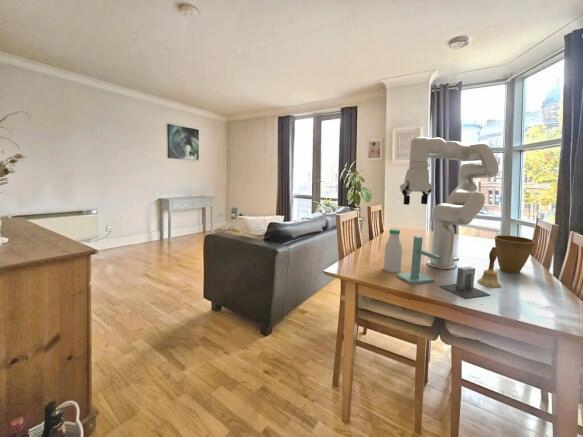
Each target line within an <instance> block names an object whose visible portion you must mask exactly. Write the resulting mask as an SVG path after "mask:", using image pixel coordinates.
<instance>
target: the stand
mask: <svg viewBox="0 0 583 437" xmlns="http://www.w3.org/2000/svg"><path fill="white" fill-rule="evenodd" d="M412 242H413V244H412V245H413V246H412V254H411V256H412V257H411V266H410V267H411V269H410V270H411V271H410V272H403V273H400V272H399V273H395V277H397V278H399V279H401V280H402V281H405V282H406V283H408V284H410V285H417V284H426V283H434V282H435V280H436V279H435V278H433V277H430V276H428V275H426V274H425V273H422V272H420V269H421V261H422V260H421V259H422V255H423V256H424V257H428V258H430V259H431V258H433V259H436V260H440V256H438V255H435V254H432V253H431V252H430V251H426V250H423V249H422V248H423V237H422V236H419V235H417V236H413V241H412Z"/></svg>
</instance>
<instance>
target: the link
mask: <svg viewBox="0 0 583 437" xmlns="http://www.w3.org/2000/svg"><path fill="white" fill-rule="evenodd" d="M456 274H457V275H456V282H455V284H456V290H458V291H460V292H464V288H465V289H467V290H470V291H471V290H473V287H474V283H475V275H476V268H475V267H472V266H462V267H457V273H456Z"/></svg>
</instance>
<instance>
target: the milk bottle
mask: <svg viewBox="0 0 583 437" xmlns="http://www.w3.org/2000/svg"><path fill="white" fill-rule="evenodd" d="M388 234H389V237H388V239H387V241H386V243H385V247H384V256H383V257H384V258H383V261H384V262H383V270H384V271H385V272H386V273H393V274H394V273H395V274H399V273H400V272H401V269H402V260H403V259H402V256H403V255H402V254H403V246H402V242H401V240H400V236H401V230H400V229H397V228H391V229H389V233H388Z"/></svg>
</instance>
